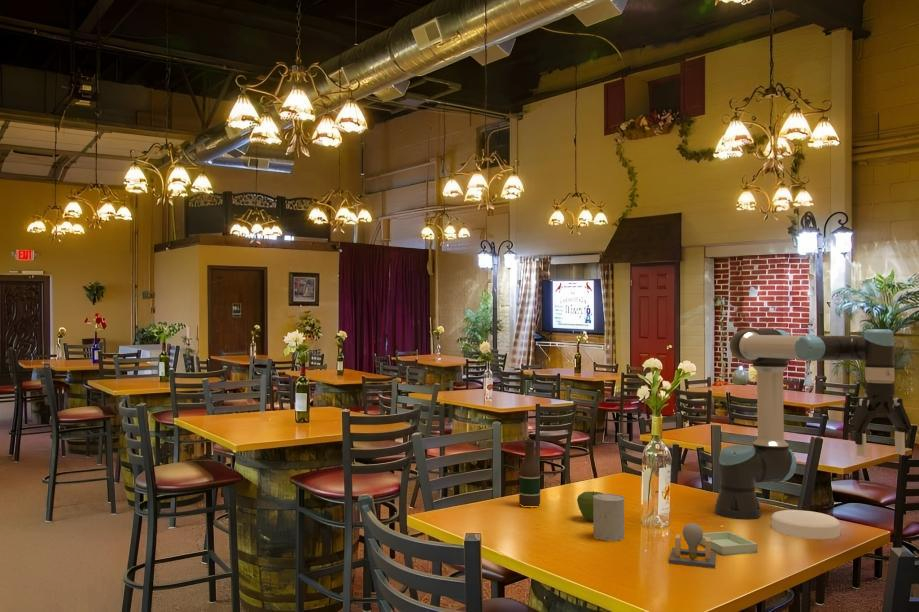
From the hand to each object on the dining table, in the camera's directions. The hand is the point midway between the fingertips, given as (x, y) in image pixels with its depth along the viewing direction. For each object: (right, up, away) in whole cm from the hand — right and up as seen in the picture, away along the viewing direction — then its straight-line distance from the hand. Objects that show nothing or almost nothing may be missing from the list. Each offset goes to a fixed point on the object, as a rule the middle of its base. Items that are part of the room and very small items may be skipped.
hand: (880, 455), depth 213 cm
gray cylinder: (-76, -28, +14) cm, 83 cm away
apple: (-78, -29, +34) cm, 90 cm away
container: (-12, -29, +22) cm, 38 cm away
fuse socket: (-57, -28, -8) cm, 64 cm away
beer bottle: (-97, -30, +54) cm, 115 cm away
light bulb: (-57, -28, -8) cm, 64 cm away
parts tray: (-44, -28, +3) cm, 52 cm away
